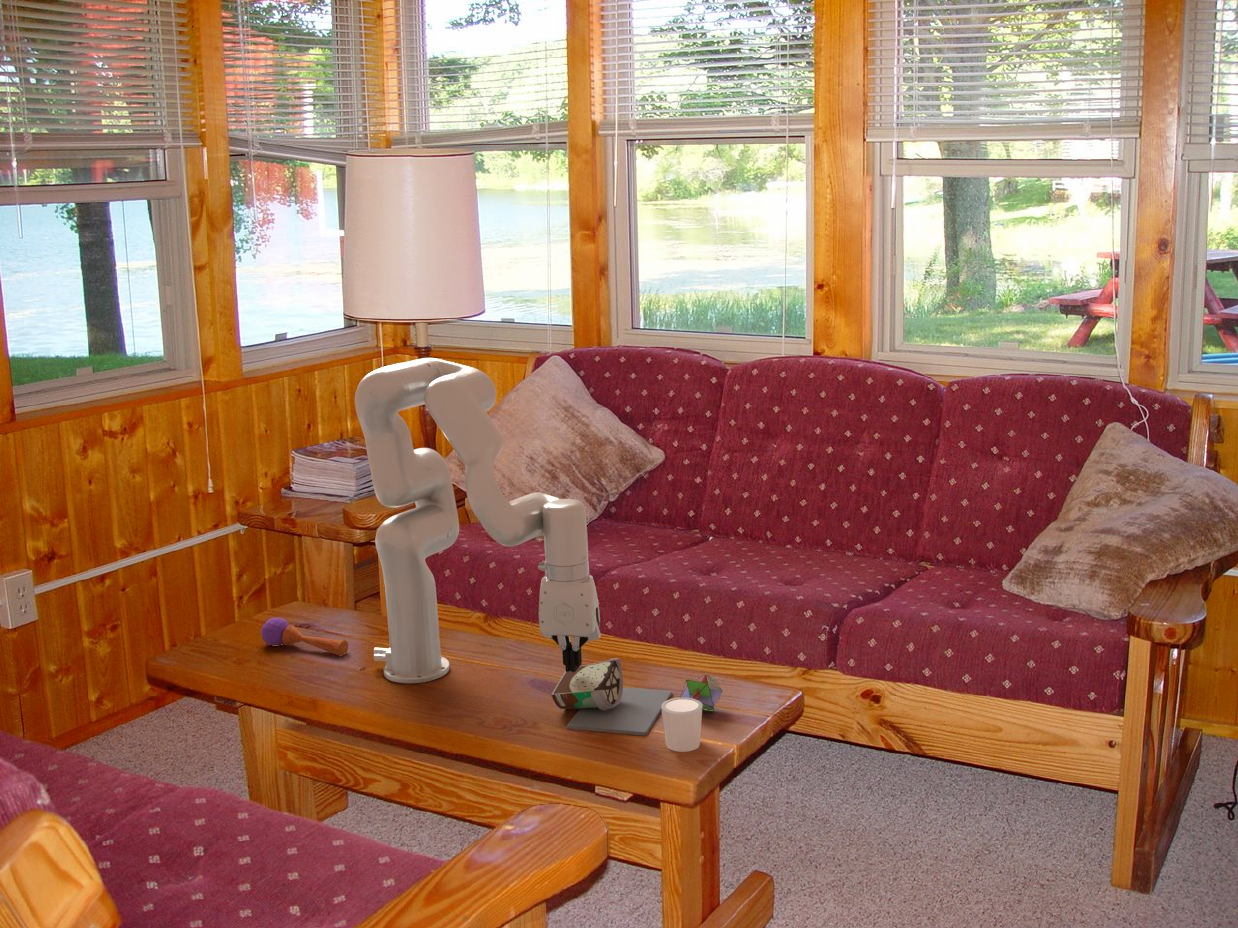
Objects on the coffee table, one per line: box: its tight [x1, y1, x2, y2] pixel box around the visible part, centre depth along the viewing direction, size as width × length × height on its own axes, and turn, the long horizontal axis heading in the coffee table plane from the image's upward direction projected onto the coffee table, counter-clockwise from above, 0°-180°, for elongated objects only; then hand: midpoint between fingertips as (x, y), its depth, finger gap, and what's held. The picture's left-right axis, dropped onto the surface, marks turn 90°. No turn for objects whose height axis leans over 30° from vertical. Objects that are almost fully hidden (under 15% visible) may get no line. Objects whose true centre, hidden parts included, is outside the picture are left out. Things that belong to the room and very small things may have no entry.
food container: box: [550, 657, 624, 711], centre depth 235 cm, size 12×6×10 cm
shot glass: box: [661, 697, 703, 753], centre depth 219 cm, size 7×7×7 cm
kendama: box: [261, 616, 349, 657], centre depth 271 cm, size 6×6×20 cm
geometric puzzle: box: [679, 673, 724, 715], centre depth 232 cm, size 7×7×8 cm
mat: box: [566, 686, 673, 737], centre depth 234 cm, size 14×18×1 cm
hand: (572, 668), depth 235 cm, fingers closed
